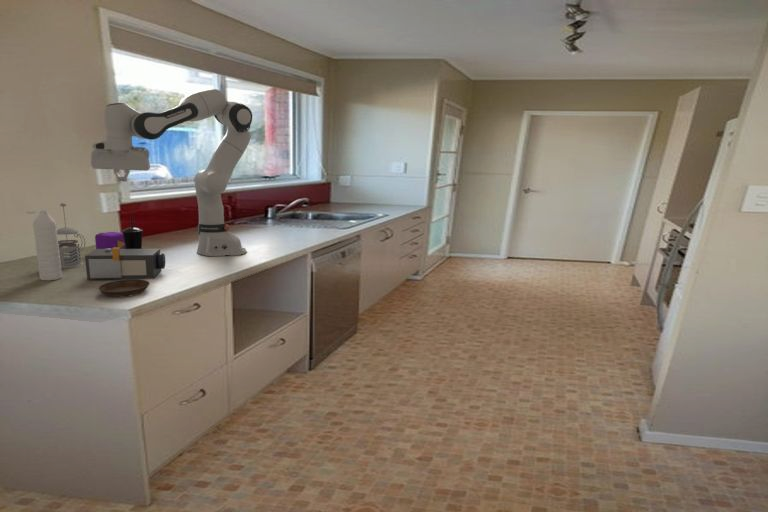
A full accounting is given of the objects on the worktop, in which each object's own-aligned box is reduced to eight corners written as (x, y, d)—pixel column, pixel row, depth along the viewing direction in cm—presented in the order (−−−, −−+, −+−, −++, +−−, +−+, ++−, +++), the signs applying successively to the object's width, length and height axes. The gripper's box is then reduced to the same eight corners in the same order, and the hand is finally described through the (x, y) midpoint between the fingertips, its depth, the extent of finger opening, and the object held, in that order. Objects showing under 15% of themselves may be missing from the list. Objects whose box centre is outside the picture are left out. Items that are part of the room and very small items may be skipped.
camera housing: (166, 270, 176) (165, 246, 174) (159, 278, 165) (157, 253, 163) (99, 271, 170) (97, 246, 168) (87, 280, 159) (84, 253, 157)
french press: (48, 266, 175) (41, 203, 169) (77, 260, 186) (71, 201, 180) (66, 269, 172) (58, 205, 166) (94, 263, 182) (88, 202, 177)
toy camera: (136, 250, 208) (134, 229, 206) (116, 257, 194) (114, 234, 192) (114, 249, 209) (112, 228, 207) (93, 255, 195) (91, 233, 193)
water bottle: (52, 275, 163) (43, 207, 157) (66, 277, 162) (59, 209, 156) (29, 281, 154) (19, 210, 149) (44, 283, 153) (35, 211, 148)
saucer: (90, 293, 146) (89, 285, 145) (135, 283, 158) (135, 276, 158) (113, 302, 138) (112, 294, 138) (158, 292, 150) (158, 284, 150)
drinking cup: (149, 261, 190) (145, 215, 185) (132, 264, 183) (128, 216, 178) (137, 258, 193) (133, 213, 188) (120, 262, 186) (116, 215, 181)
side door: (122, 276, 162) (119, 247, 159) (120, 278, 160) (118, 248, 158) (91, 277, 159) (88, 247, 157) (89, 278, 158) (86, 248, 155)
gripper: (150, 147, 179) (153, 181, 182) (94, 144, 174) (97, 180, 177) (146, 147, 173) (149, 182, 176) (87, 144, 168) (91, 180, 171)
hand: (122, 181), depth 176 cm, fingers closed
